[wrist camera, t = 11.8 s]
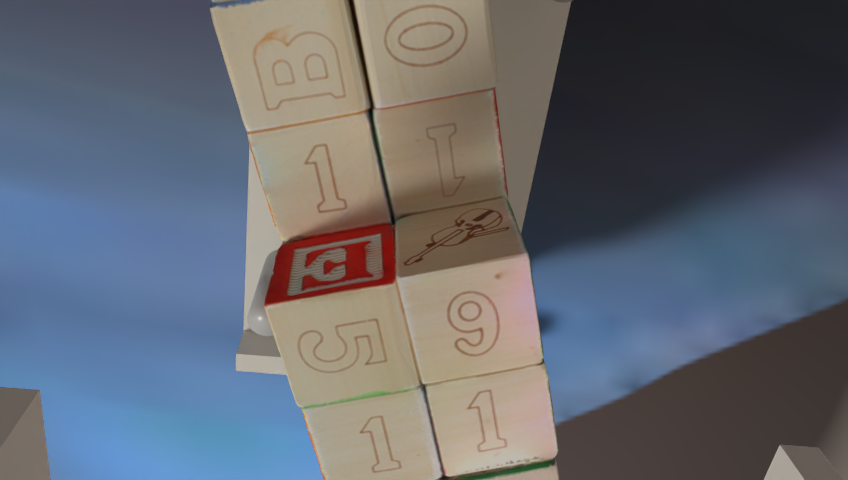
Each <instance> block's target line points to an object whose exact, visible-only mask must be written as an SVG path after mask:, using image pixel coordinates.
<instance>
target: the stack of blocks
mask: <svg viewBox="0 0 848 480" xmlns="http://www.w3.org/2000/svg"><path fill="white" fill-rule="evenodd" d="M210 11H211V16H212V20H213V24H214V27H215V30H216V33H217V37H218V40H219V43H220V47H221V50H222V53H223V57H224V60H225V63H226V67H227V70H228V73H229V76H230V80H231V83H232V86H233V89H234V93H235V96H236V99H237V102H238V105H239V109H240V112H241V116H242V120H243V123H244V126H245V128H246V130H247V133H248V140H249V145H250V150H251V152H252V155H253V158H254V162H255V166H256V169H257V172H258V175H259V179H260V182H261V185H262V188H263V191H264V194H265V197H266V200H267V203H268V206H269V210H270V213H271V216H272V219H273V222H274V226H275V228H276V230H277V232H278V235H279V236H280V238H281V239H282V240H283V242H282V245H281V246H280V248H279V249H278V252H277V255H276V257H275V264H274V268H273V272H272V274H271V278H270V282H269V286H268V290H267V293H266V297H265V302H264V308H265V311H266V314H267V318H268V321H269V323H270V326H271V329H272V332H273V335H274V338H275V341H276V344H277V347H278V350H279V353H280V356H281V359H282V362H283V365H284V368H285V371H286V374H287V377H288V380H289V383H290V386H291V389H292V392H293V395H294V398H295V401H296V404H297V405H298V406H299V407H300V408H302V411H303V415H304V418H305V422H306V426H307V429H308V433H309V436H310V439H311V442H312V445H313V448H314V451H315V454H316V456H317V459H318V462H319V466H320V469H321V472H322V476H323V479H324V480H559V474H558V468H557V464H556V461H555V456H556V454H557V452H558V442H557V434H556V429H555V422H554V414H553V407H552V400H551V393H550V386H549V379H548V374H547V370H546V366H545V363H544V359H543V346H542V339H541V333H540V326H539V319H538V312H537V305H536V297H535V290H534V284H533V277H532V271H531V262H530V257H529V254H528V251H527V249H526V246H525V244H524V241H523V238H522V235H521V233H520V230H519V227H518V224H517V222H516V219H515V216H514V213H513V210H512V208H511V205H510V203H509V201H508V189H507V182H506V173H505V165H504V157H503V149H502V141H501V133H500V125H499V116H498V108H497V100H496V92H495V88H496V86H497V83H498V74H497V65H496V55H495V46H494V37H493V28H492V20H491V13H490V6H489V0H211V7H210Z"/></svg>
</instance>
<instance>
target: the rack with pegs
mask: <svg viewBox="0 0 848 480" xmlns="http://www.w3.org/2000/svg"><path fill="white" fill-rule="evenodd" d="M571 1H573V0H489V6H490V13H491V20H492V28H493V37H494V46H495V55H496V65H497V74H498V83H497V86H496V88H495V92H496V100H497V108H498V116H499V125H500V133H501V141H502V149H503V157H504V165H505V173H506V182H507V189H508V201H509V203H510V205H511V208H512V210H513V213H514V216H515V219H516V222H517V224H518V227H519V230H520V233H521V231H522V227H523V222H524V218H525V213H526V208H527V204H528V199H529V194H530V190H531V185H532V180H533V176H534V171H535V167H536V162H537V157H538V153H539V148H540V143H541V139H542V134H543V130H544V125H545V120H546V116H547V111H548V106H549V102H550V97H551V93H552V88H553V83H554V79H555V74H556V69H557V65H558V60H559V55H560V51H561V46H562V42H563V37H564V32H565V28H566V23H567V18H568V14H569V9H570V5H571ZM282 242H283V240H282V239H281V238H280V236H279V235H278V232H277V230H276V228H275V226H274V222H273V219H272V216H271V213H270V210H269V206H268V203H267V200H266V197H265V194H264V191H263V188H262V185H261V182H260V179H259V175H258V172H257V169H256V166H255V162H254V158H253V155H252V152H251V150H250V149H249V180H248V211H247V242H246V273H245V303H244V331H243V334H242V337H241V341H240V344H239V347H238V350H237V353H236V371H246V372H259V373H272V374H284V375H287V374H286V371H285V368H284V365H283V362H282V359H281V356H280V353H279V350H278V347H277V344H276V341H275V338H274V335H273V332H272V329H271V326H270V323H269V321H268V318H267V314H266V311H265V308H264V302H265V297H266V293H267V290H268V286H269V282H270V278H271V274H272V272H273V268H274V264H275V257H276V255H277V252H278V249H279V248H280V246H281V245H282Z"/></svg>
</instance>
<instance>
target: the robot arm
mask: <svg viewBox="0 0 848 480" xmlns="http://www.w3.org/2000/svg"><path fill="white" fill-rule="evenodd" d="M0 480H51V479H50V471H49V463H48V455H47V446H46V438H45V430H44V421H43V413H42V405H41V397H40V390H32V389H19V388H5V387H0ZM764 480H843V479H842V478H841V477H840V475H839V474H838V472H836V470H835V469H834V467H833V466H832V465H831V464H830V462H829V461H828V460H827V458H826V457H825V456H824V454H823V453H822V452H821V450H820V449H819V448H817V447H803V446H790V445H780V446H779V448H778V450H777V452H776V454H775V457H774V459H773V461H772V463H771V465H770V468H769V470H768V472H767V474H766V476H765V478H764Z"/></svg>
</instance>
